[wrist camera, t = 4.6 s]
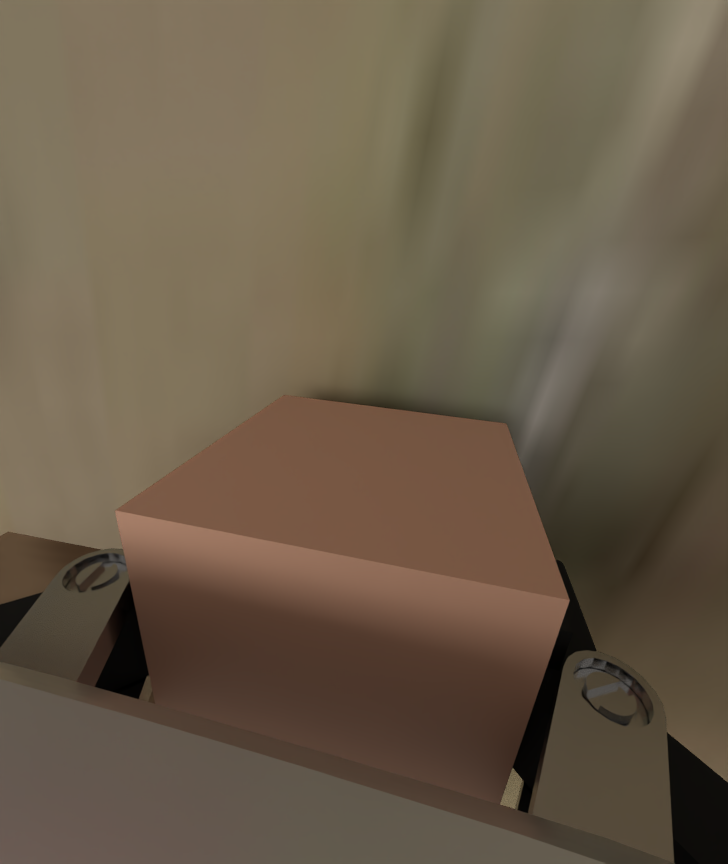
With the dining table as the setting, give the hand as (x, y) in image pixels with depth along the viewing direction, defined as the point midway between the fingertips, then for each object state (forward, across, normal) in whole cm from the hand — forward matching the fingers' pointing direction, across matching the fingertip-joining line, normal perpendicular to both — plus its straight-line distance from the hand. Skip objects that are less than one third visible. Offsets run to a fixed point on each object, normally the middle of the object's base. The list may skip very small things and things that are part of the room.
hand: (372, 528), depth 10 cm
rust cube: (+1, 0, 0) cm, 1 cm away
